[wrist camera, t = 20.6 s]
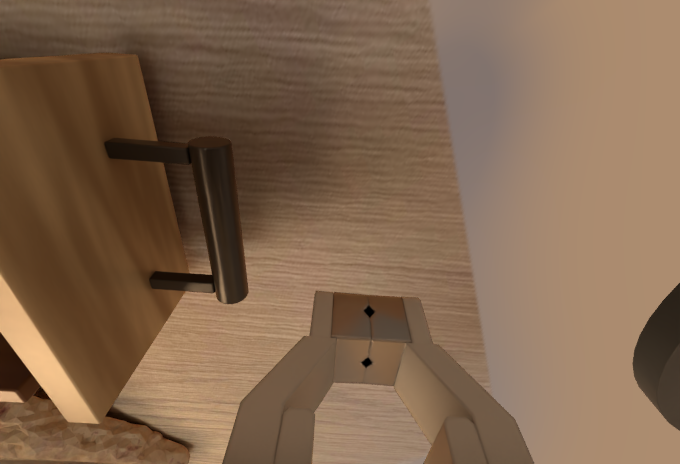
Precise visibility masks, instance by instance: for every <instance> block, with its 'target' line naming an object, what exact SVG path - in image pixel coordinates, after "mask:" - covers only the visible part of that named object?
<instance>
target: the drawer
mask: <svg viewBox="0 0 680 464" xmlns="http://www.w3.org/2000/svg"><path fill="white" fill-rule="evenodd" d="M163 163H174V164H187V165H189V164H192V170H193V175H194V180H195V186H196V191H197V196H198V201H199V207H200V212H201V217H202V223H203V228H204V233H205V239H206V244H207V249H208V254H209V260H210V265H211V270H212V275H205V274H191V273H189V269H188V265H187V260H186V256H185V252H184V248H183V244H182V239H181V235H180V231H179V227H178V223H177V218H176V214H175V210H174V206H173V202H172V197H171V193H170V189H169V185H168V181H167V176H166V172H165V168H164V164H163ZM185 291H189V292H203V293H215V291H216V297H217V299H218V300H219V301H220V302H222V303H224V304H235V303H238V302H240V301H242V300H243V299H245V298H246V296H247V294H248V283H247V274H246V265H245V256H244V247H243V239H242V230H241V221H240V212H239V203H238V194H237V186H236V177H235V168H234V159H233V150H232V142H231V141H230V140H229V139H227V138H223V137H216V136H206V137H199V138H195V139H192V140H190V141H189V142H188V143H175V142H162V141H158V139H157V134H156V130H155V126H154V122H153V118H152V113H151V109H150V105H149V101H148V97H147V92H146V88H145V84H144V80H143V76H142V71H141V67H140V63H139V59H138V56H137V55H131V54H118V53H93V54H77V55H61V56H45V57H29V58H13V59H0V401H3V402H19V403H26V402H27V401H28V400H29V399H30V398H31V397H32V396H33V395H34V394H35V392H36V391H37V390H38V389H39V388H40V387H42V388H43V390H44V391H45V392H46V394H47V395H48V396H49V398H50V399H51V400H52V402H53V403H54V404H55V406H56V407H57V408H58V410H59V411H60V412H61V414H62V415H63V416H64V418H65V419H66V420H67V421H68V422H77V423H93V424H100V423H101V422H102V420H103V419H104V417H105V416H106V414H107V412H108V411H109V409H110V408H111V406H112V405H113V403H114V402H115V400H116V398H117V397H118V395H119V394H120V392H121V391H122V389H123V388H124V386H125V385H126V383H127V381H128V380H129V378H130V377H131V375H132V374H133V372H134V371H135V369H136V367H137V366H138V364H139V363H140V361H141V360H142V358H143V357H144V355H145V353H146V352H147V350H148V349H149V347H150V346H151V344H152V343H153V341H154V340H155V338H156V336H157V335H158V333H159V332H160V330H161V329H162V327H163V326H164V324H165V322H166V321H167V319H168V318H169V316H170V315H171V313H172V312H173V310H174V308H175V307H176V305H177V304H178V302H179V301H180V299H181V298H182V296H183V295H184V293H185Z"/></svg>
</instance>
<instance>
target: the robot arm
mask: <svg viewBox="0 0 680 464" xmlns="http://www.w3.org/2000/svg"><path fill="white" fill-rule="evenodd" d="M333 382H335V383H364V384H375V385H386V386H394V389H395V391H396V392H397V394H398V395H399V397H400V398H401V400H402V401H403V403H404V404H405V406H406V407H407V409H408V410H409V412H410V413H411V415H412V416H413V418H414V419H415V421H416V423H417V424H418V426H419V427H420V429H421V430H422V432H423V433H424V435H425V436H426V438H427V439H428V441H429V442H430V444H431V445H432V447H431V449H430V451H429V453H428V455H427V457H426V459H425V461H424V463H423V464H534V462H533V460H532V457H531V455H530V453H529V450H528V448H527V446H526V444H525V441H524V439H523V437H522V434H521V432H520V430H519V427H518V425H517V423H516V421H515V419H514V418H513V417H512V416H511V415H510V414H509V413H508V412H507V411H506V410H505V409H504V408H503V407H502V406H501V405H500V404H499V403H498V402H497V401H496V400H495V399H494V398H493V397H492V396H491V395H490V394H489V393H488V392H487V391H486V390H485V389H484V388H483V387H481V386H480V385H479V384H478V383H477V382H476V381H475V380H474V379H473V378H472V377H471V376H470V375H469V374H468V373H467V372H466V371H465V370H464V369H463V368H462V367H461V366H460V365H459V364H458V363H457V362H456V361H455V360H454V359H453V358H452V357H451V356H450V355H449V354H448V353H447V352H446V351H445V350H444V349H442V348H441V347H440V346H439V345H436V344H433V342H432V339H431V335H430V332H429V328H428V325H427V321H426V318H425V314H424V311H423V307H422V304H421V300H420V299H419V298H416V297H395V296H378V295H362V294H351V293H340V292H334V293H333V292H325V291H316V292H315V297H314V305H313V313H312V321H311V328H310V336H304V337H303V338H302V339H301V340H300V341H299V342H298V343H297V344H296V345H295V346H294V347H293V348H292V349H291V350H290V351H289V352H288V353H287V354H286V355H285V356H284V357H283V358H282V359H281V361H280V362H279V363H278V364H277V365H276V366H275V367H274V368H273V369H272V370H271V371H270V372H269V373H268V374H267V375H266V376H265V377H264V378H263V379H262V380H261V381H260V382H259V383H258V384H257V385H256V386H255V388H254V389H253V390H252V391H251V392H250V393H249V394H248V395H247V396H246V397H245V398H244V399H243V400H242V401H241V403H240V406H239V409H238V413H237V416H236V419H235V423H234V426H233V430H232V433H231V436H230V440H229V443H228V446H227V450H226V453H225V456H224V460H223V463H222V464H312V457H313V441H314V424H315V414H314V412H315V411H316V409H317V408H318V406H319V405H320V403H321V401H322V400H323V398H324V397H325V395H326V394H327V392H328V391H329V389H330V388H331V386H332V384H333ZM0 464H112V463H94V462H76V461H58V460H39V459H21V458H3V457H0Z"/></svg>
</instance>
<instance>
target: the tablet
mask: <svg viewBox="0 0 680 464" xmlns="http://www.w3.org/2000/svg"><path fill="white" fill-rule="evenodd" d="M0 457H3V458H21V459H39V460H58V461H76V462H94V463H112V464H188V463H189V459H190V454H189V451H188V449H187V448H186V447H184V446H183V445H181V444H179V443H176V442H173V441H170V440H168V439H166V438H164V437H162V434H161V433H159V432H156V431H152V430H151V429H149V428H148V427H147V426H145V425H137V424H131V423H128V422H126V421H123V420H118V419H114V418H111V417H104V419H103V420H102V422H101V423H100V424H93V423H77V422H68V421H67V420H66V419H65V418H64V416H63V415H62V414H61V412H60V411H59V410H58V408H57V407H56V406H55V404H54V403H53V402H51V401H50V400H49V399H41V398H39V397H36V396H32V397H31V398H30V399H29V400H28V401H27V402H26V403H19V402H3V401H0Z"/></svg>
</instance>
